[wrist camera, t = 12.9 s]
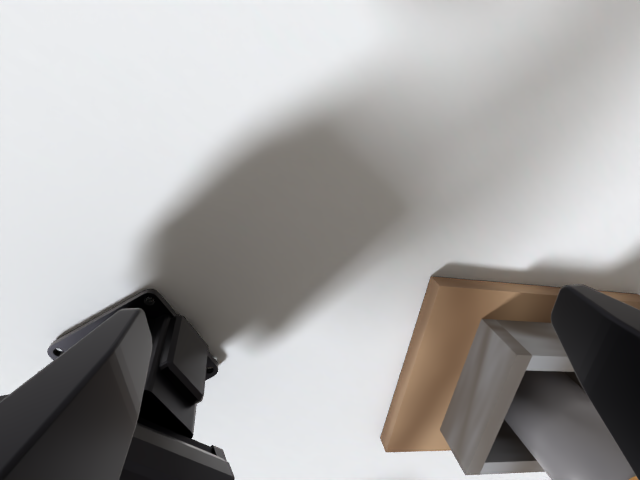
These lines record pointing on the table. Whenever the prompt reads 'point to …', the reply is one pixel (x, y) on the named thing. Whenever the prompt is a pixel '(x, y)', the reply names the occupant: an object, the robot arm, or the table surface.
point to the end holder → (475, 371)
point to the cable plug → (564, 429)
